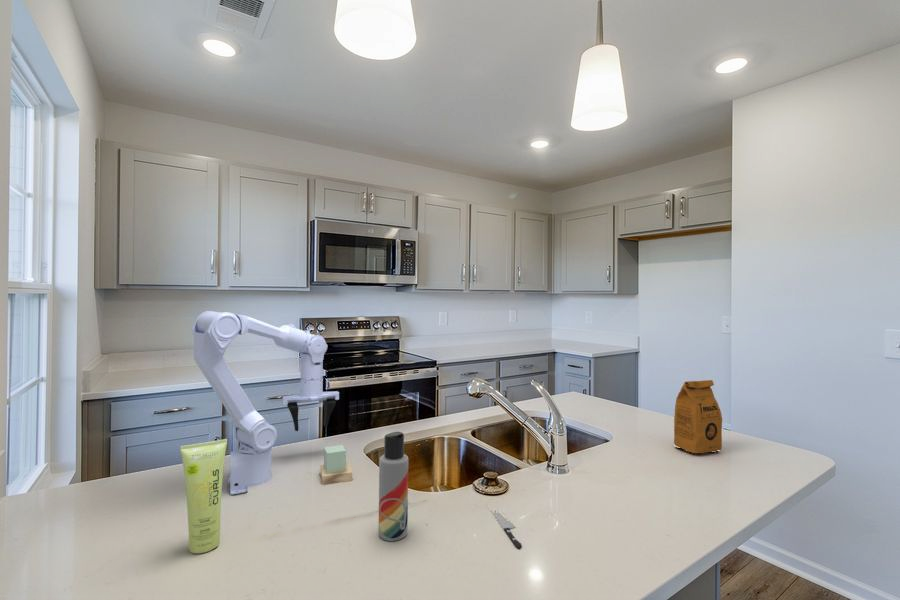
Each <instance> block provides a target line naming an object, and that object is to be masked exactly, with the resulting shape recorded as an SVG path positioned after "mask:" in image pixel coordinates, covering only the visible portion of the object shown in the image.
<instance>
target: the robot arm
mask: <svg viewBox="0 0 900 600" xmlns="http://www.w3.org/2000/svg"><path fill="white" fill-rule="evenodd" d="M191 331H192V334H193V360H194V362H195V363H196V365H197V366H198V368H199V369H200V372H201V373H202V374H203V376H204V377H205V379H206V381H207V382H208V383H209V385H210V387H211V388H212V390H213V391H214V392H215V394H216V396H217V398H218V399H219V400H220V402H221V403H222V405H223V406H224V408H225V410H226V411H227V413H228V414H229V416H230V417H231V419H232V421H231V425H232V426H233V429H234V436H235V438H236V441H238V442H239V446H238V447H239V449H237V450H233V451H230V452H229V453H230V454H229V455H230V462H229V464H230V466H229V467H230V468H229V470H230V471H229V475H228V484H229V487H230V488H229V492H230V493H229V494H230V496H234V495H238V494H239V495H240V494H244V493H248V487H254V486H259V485H262V484H266V483H267V482H269V481H270V480H271V479H272V450H273V449H272V448H273V446H274V445H275V444H276V441H277V438H278V432H277V429H276V427H275V426H273V424H270V423H269V422H267V421H266V419H265V417H264V416H262V415H261V414H260V413H259V412H258V411H257V410H256V409H255V407H254V406H253V404H252V403H251V400H250V399H249V397H248V396H247V394H246V392H245V391H244V390H243V387H242V386H241V384H240V383H239V381H238V379H237V378H236V376H235V375H234V373H233V371H232V370H231V368H230V367H229V365H228V363H227V361H226V360H225V358H224V355H225V352H226V350H227V348H228V347H229V346H230V344H231V343H232V342H233V341H234V340H235V338H236V337H237V336H238V335H240V336H242V335H245V334H247V333H249V334H253V335H256V336H261V337H263V338H268V339H271V340H273V341H274V343H275V345H276V346H277V347H279V348H282V349H283V348H284V349H285V350H289V351H293V352H297V353H298V354H300V393H297V394H295V393H294V394H291V395H283V396H282V404H283V406H287V408H288V410H289V414H291V415H290V416H291V419H292V421H293V426H294V427H293V428H294V431H295V432H299V408H300V407H299V404H300V403H301V404H302V403H311V402H321V401H323V426H324V428H328V427H329V422H330V418H331V415H332V412H333V410H334V408H335V407H336V404H337V401H338V400H340V392H339V391H338V390H336V391H334V390H333V391H323V383H324V382H323V379H324V378H323V373H324V371H323V370H324V369H323V367H324V364H323V363H324V361H323V360H324V359H325V358H324V357H325V356H324V355H325V354H326V352H327V350H328V344H327V342H326V340H325V338H324V337H323V336H322V335H320V334H319V335H318V334H311V331H310V330H308V329H307V330H306V329H304V330H302V329H299V328H297V327H296V325H294V324H291V323H288V324H283V325H281V326H275V325H272V324H269V323H267V322H264V321H262V320H258V319H256V318H254V317H250V316H248V315H242V314H235V313H233V312H229V311H228V312H227V311H226V312H224V311H223V312H219V311H215V310H207V311H204V312H202V313H201V314H200V315H198V317H197V318H196V320H195V322H194V324H193V325H192V328H191Z"/></svg>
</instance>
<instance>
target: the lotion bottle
mask: <svg viewBox="0 0 900 600" xmlns="http://www.w3.org/2000/svg"><path fill="white" fill-rule="evenodd" d="M383 444H384V449H383V450H384V451H383V453H384V454H382V455H381V456H380V457H379V461H378V462H379V463H378V465H379V467H378V536H379V537H380V538H381V540H384V541H387V542H397V541H399V540H400V541H401V540H402V539H404V538H405V537H406V536H407V535H408V534H407V533H408V524H409V523H408V516H409V513H408V512H409V457H408V455H407V454H405V452H404V451H405V434H404V433H403V432H402V431H393V432H390V433H387V434H385V435H384V443H383Z"/></svg>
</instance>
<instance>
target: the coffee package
mask: <svg viewBox="0 0 900 600" xmlns="http://www.w3.org/2000/svg"><path fill="white" fill-rule="evenodd" d="M714 385H715V383H714V381H713V380H712V379H709V380H706V379H705V380H691V381H684V383H683V384H682V386H681V388H680V391H679V392H678V394H677V396H676V399H675V407H674V416H673V417H674V419H673V423H674V424H673V425H674V426H673V427H674V428H673V431H674V432H673V433H674V437H673V438H674V439H673V445H674V444H675V445H676V446H678V447H680V448H682V449H684V450H683V451H685V450H687V451H689V452H692V453H691V454H693V453H701V454H705V453H704V452H712V451H717V450H720V451H722V448H723V440H722V439H723V438H722V437H723V436H722V435H723V434H722V429H723V417H722V411H721V408H720V405H719V403H718V401H717V399H716V397H715V395H714V392H713V389H712V388H711V387H713V386H714ZM687 451H686V452H687ZM689 452H688V453H689Z"/></svg>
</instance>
